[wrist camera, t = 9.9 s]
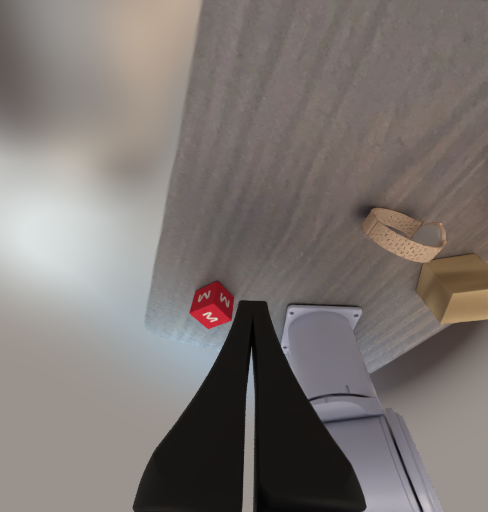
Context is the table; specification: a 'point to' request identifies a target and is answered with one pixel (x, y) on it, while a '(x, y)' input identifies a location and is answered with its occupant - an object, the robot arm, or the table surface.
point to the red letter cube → (212, 305)
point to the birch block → (455, 288)
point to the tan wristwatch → (424, 237)
